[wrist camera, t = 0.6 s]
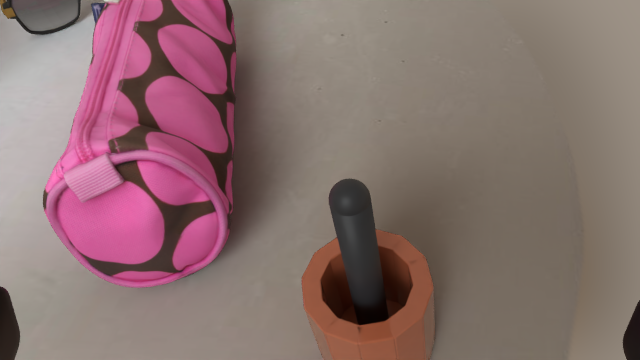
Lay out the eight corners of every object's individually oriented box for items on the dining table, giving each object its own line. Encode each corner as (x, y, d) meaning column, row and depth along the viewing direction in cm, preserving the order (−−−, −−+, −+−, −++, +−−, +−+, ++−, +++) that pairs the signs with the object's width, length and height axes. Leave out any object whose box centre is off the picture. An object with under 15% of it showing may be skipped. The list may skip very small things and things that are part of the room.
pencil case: (126, 75, 44) (62, -46, 37) (245, 47, 44) (205, -80, 37) (88, 313, 30) (-29, 191, 22) (266, 274, 30) (206, 139, 22)
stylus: (393, 345, 25) (371, 198, 18) (363, 350, 25) (327, 206, 18) (387, 317, 26) (365, 166, 19) (358, 322, 26) (323, 174, 19)
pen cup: (445, 383, 24) (445, 330, 21) (327, 402, 25) (307, 352, 21) (419, 281, 28) (416, 220, 24) (317, 298, 28) (297, 241, 24)
